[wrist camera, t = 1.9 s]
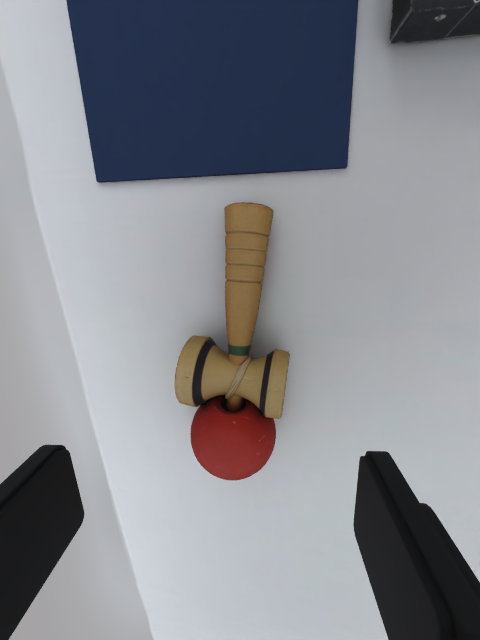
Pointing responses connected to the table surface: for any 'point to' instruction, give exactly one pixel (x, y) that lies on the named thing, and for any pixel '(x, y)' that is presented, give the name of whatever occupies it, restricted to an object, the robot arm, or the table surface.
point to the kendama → (235, 362)
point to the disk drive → (434, 19)
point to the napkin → (215, 85)
